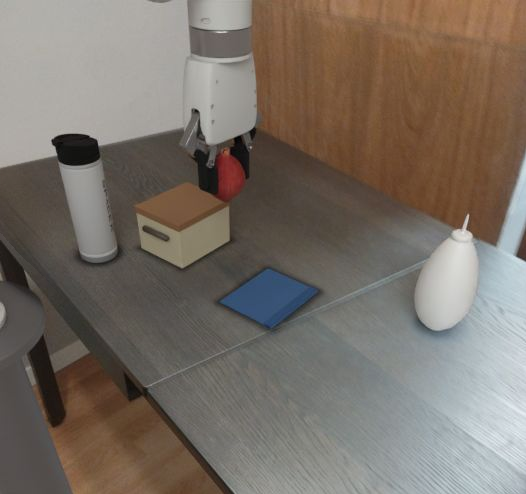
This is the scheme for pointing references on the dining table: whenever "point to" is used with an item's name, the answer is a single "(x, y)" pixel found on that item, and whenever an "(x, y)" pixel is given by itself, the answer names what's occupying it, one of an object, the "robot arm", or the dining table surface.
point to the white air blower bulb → (448, 281)
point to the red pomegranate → (228, 176)
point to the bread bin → (183, 224)
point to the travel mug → (87, 196)
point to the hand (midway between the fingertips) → (224, 182)
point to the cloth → (269, 297)
